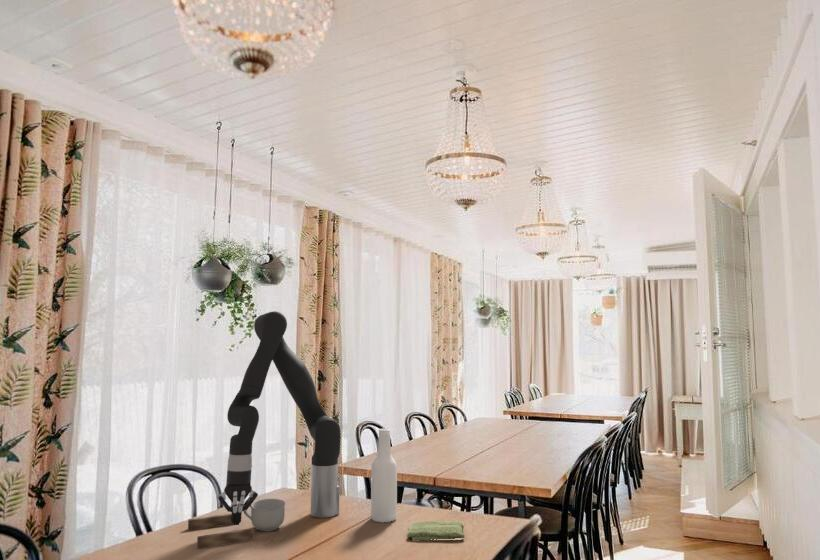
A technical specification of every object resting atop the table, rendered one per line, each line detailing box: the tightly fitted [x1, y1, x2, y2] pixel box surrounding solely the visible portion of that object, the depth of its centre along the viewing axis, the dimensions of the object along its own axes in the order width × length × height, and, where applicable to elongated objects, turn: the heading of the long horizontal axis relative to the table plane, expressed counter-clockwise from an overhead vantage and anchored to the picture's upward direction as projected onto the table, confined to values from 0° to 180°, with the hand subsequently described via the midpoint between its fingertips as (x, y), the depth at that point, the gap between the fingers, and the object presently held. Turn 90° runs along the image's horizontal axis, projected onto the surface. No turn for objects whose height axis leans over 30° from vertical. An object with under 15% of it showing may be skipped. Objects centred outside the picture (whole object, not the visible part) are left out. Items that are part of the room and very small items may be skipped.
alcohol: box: [370, 427, 398, 524], centre depth 196 cm, size 9×9×30 cm
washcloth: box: [406, 520, 465, 541], centre depth 180 cm, size 13×18×3 cm
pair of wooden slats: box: [187, 512, 254, 549], centre depth 180 cm, size 16×20×3 cm
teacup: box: [242, 498, 286, 532], centre depth 186 cm, size 14×11×8 cm
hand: (235, 524), depth 182 cm, fingers closed
